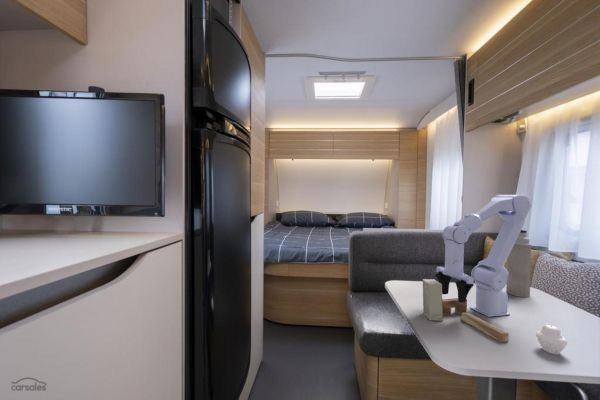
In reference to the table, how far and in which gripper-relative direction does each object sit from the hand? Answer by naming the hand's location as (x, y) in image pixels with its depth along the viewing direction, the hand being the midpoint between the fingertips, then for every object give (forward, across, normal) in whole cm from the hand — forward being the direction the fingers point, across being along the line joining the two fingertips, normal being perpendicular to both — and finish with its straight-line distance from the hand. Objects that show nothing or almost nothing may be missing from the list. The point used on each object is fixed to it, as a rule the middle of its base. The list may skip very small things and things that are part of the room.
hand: (453, 297), depth 94 cm
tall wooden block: (+6, 0, 0) cm, 6 cm away
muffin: (+6, +25, +8) cm, 27 cm away
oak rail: (+6, +12, 0) cm, 13 cm away
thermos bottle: (+6, -12, +45) cm, 47 cm away
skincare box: (+6, +1, -9) cm, 11 cm away
